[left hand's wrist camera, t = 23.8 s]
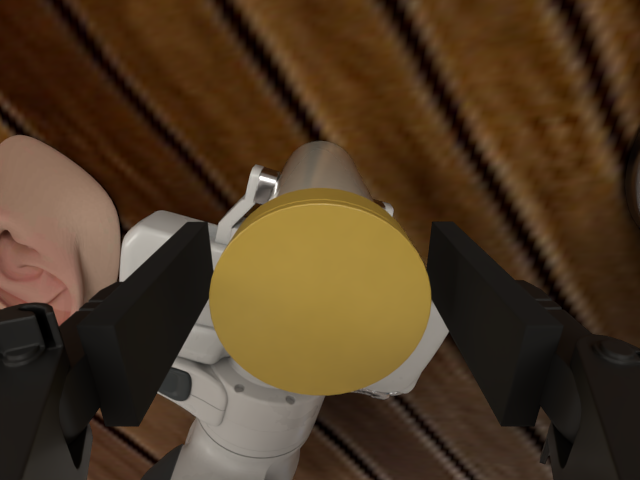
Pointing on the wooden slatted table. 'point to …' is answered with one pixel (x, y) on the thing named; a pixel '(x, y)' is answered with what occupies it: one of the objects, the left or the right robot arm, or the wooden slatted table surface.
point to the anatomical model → (53, 229)
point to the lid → (320, 293)
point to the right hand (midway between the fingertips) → (323, 186)
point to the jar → (320, 171)
